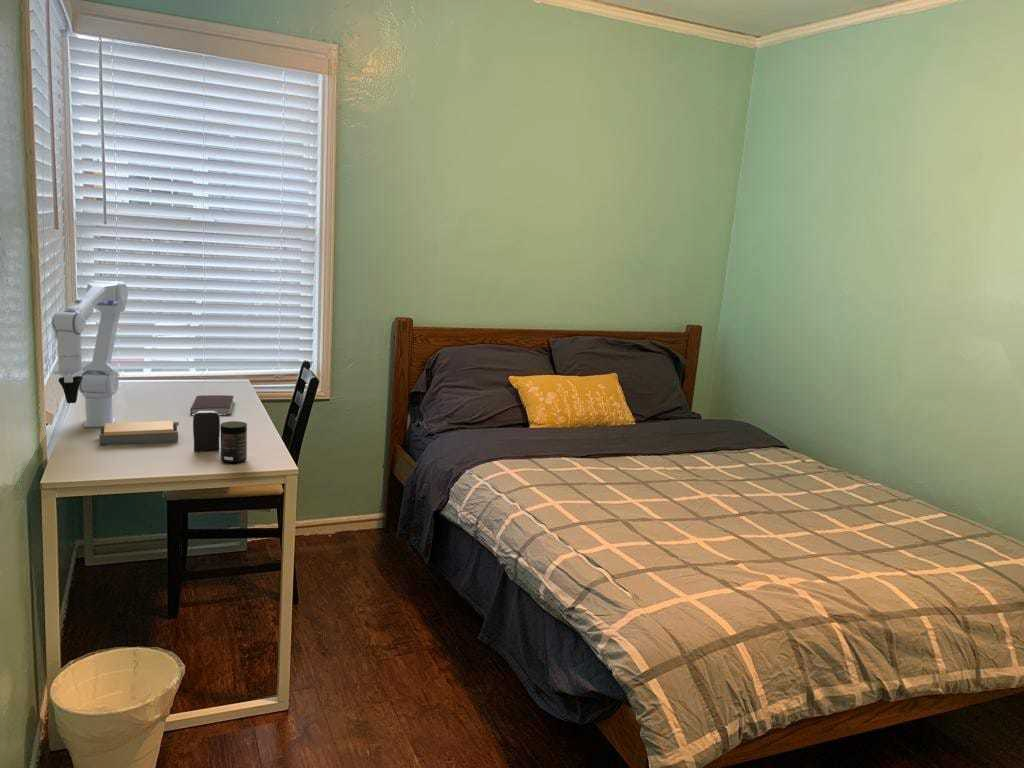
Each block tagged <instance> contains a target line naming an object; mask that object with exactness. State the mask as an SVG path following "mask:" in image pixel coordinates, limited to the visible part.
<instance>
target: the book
mask: <svg viewBox="0 0 1024 768" xmlns="http://www.w3.org/2000/svg"><path fill="white" fill-rule="evenodd" d="M234 397H235V396H234V395H226V394H223V395H222V394H219V395H213V394H212V395H210V394H209V395H207V394H206V395H204V394H203V395H202V394H201V395H197V396H195V399H194V401H193V404H192V405H191V406H190V410H189V411H190V416H193V415H192V414H195V413H196V412H197V411H217V412H218V414H223V415H222V416H231V415H232V411H231V408H232V409H233V406H232V404H233V402H234ZM233 405H234V404H233ZM224 414H225V415H224Z"/></svg>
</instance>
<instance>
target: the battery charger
mask: <svg viewBox="0 0 1024 768" xmlns="http://www.w3.org/2000/svg"><path fill="white" fill-rule="evenodd" d="M220 418H221V417H220V415H219V414H218V412H217V411H197V412H196V413H195V414H194V415H192V434H193V436H192V437H193V452H196V453H197V452H199V453H205V452H218V451H220V438H221V431H220V430H221V419H220Z"/></svg>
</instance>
